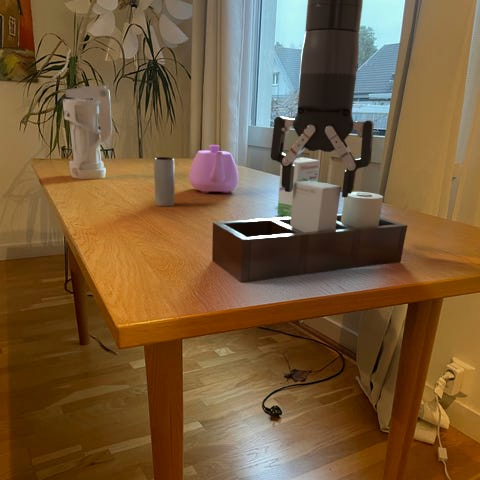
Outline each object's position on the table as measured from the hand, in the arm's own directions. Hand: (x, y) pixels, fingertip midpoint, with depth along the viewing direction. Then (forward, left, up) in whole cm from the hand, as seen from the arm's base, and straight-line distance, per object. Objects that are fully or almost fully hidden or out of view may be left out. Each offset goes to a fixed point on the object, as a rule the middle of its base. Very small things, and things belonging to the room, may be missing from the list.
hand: (316, 193), depth 71 cm
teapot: (+37, -51, -11) cm, 64 cm away
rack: (0, 0, -11) cm, 11 cm away
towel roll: (-6, -6, -11) cm, 14 cm away
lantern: (+78, -54, -11) cm, 96 cm away
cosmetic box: (0, 0, -11) cm, 11 cm away
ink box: (+10, -34, -11) cm, 37 cm away
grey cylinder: (+40, -28, -11) cm, 50 cm away
